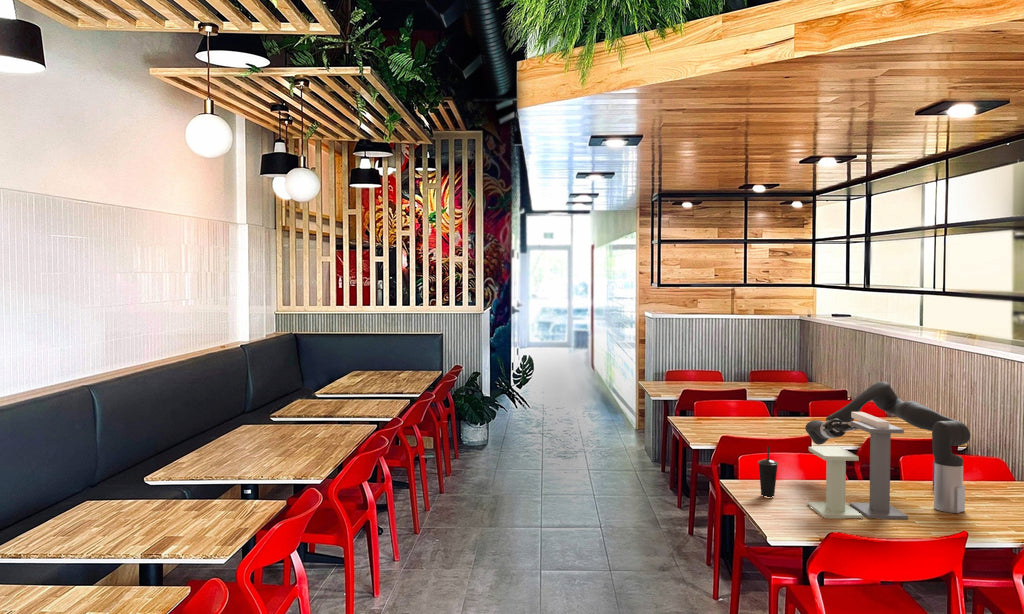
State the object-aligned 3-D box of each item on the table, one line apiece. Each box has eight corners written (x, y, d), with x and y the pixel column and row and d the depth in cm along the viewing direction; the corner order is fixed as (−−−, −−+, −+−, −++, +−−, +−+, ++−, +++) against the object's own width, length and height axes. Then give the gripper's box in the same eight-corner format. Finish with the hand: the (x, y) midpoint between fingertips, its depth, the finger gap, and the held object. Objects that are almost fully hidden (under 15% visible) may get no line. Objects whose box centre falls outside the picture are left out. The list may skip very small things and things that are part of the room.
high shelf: (847, 504, 282) (848, 421, 281) (884, 504, 281) (885, 421, 281) (868, 518, 264) (869, 430, 263) (908, 519, 263) (909, 430, 263)
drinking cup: (778, 495, 294) (779, 445, 293) (777, 500, 287) (777, 449, 287) (758, 493, 297) (759, 443, 297) (756, 497, 290) (757, 447, 290)
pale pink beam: (851, 417, 290) (851, 411, 290) (862, 417, 290) (862, 411, 290) (877, 427, 268) (877, 421, 268) (889, 427, 268) (889, 421, 268)
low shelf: (805, 503, 282) (806, 446, 282) (842, 504, 282) (843, 447, 281) (823, 518, 264) (824, 457, 264) (863, 518, 264) (863, 457, 263)
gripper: (814, 420, 309) (831, 416, 293) (848, 419, 309) (866, 415, 293) (817, 438, 307) (833, 435, 291) (851, 437, 307) (869, 434, 291)
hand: (850, 425), depth 292 cm, fingers open, 8 cm apart
